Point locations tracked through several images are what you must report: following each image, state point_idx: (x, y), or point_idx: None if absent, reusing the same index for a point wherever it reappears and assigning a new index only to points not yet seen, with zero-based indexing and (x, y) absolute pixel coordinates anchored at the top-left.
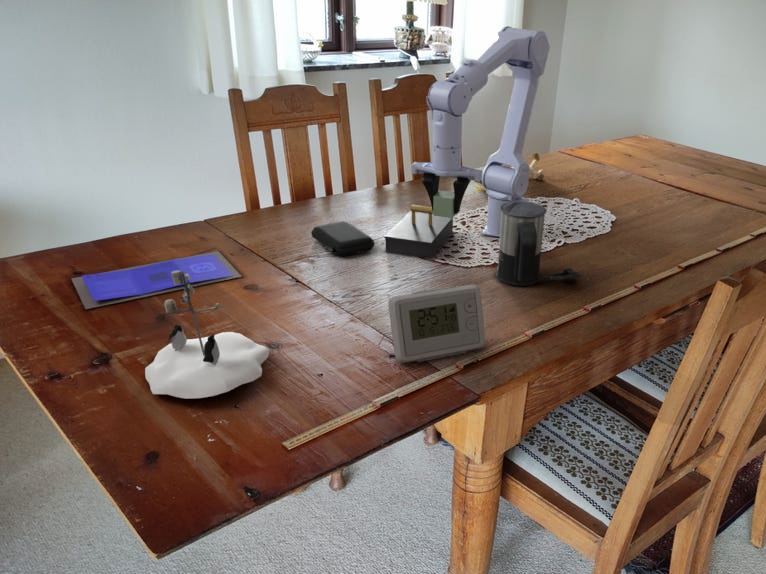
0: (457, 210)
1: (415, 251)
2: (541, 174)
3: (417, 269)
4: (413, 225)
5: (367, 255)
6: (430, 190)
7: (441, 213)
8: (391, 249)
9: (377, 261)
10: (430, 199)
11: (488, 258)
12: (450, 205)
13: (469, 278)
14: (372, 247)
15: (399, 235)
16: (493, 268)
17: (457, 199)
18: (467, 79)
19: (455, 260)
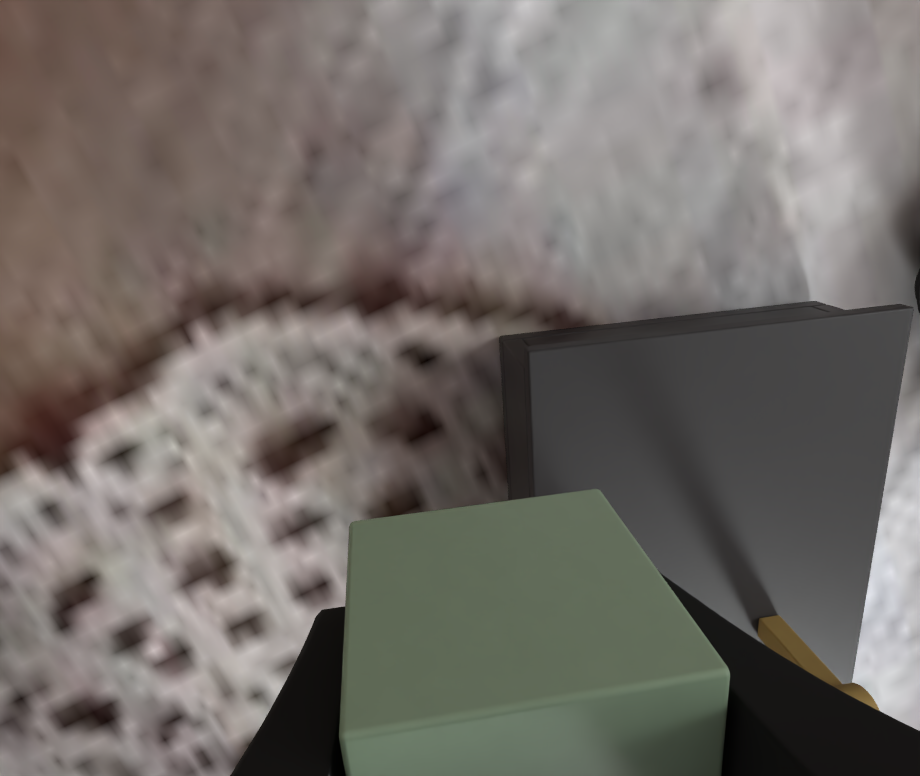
0: (308, 647)
1: (627, 332)
2: None
3: (526, 116)
4: (756, 587)
5: (914, 197)
6: (866, 762)
7: (504, 525)
8: (792, 310)
9: (829, 128)
10: (751, 641)
11: (150, 516)
12: (385, 630)
13: (94, 126)
14: (917, 287)
15: (807, 375)
16: (28, 382)
17: (267, 773)
18: None
19: (340, 386)
